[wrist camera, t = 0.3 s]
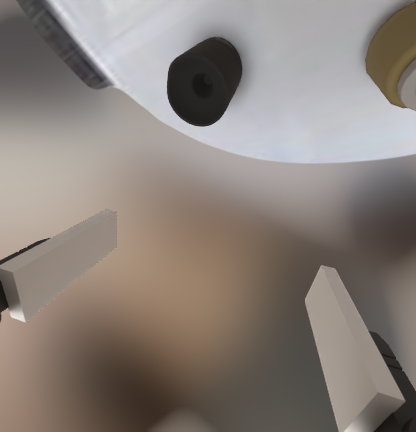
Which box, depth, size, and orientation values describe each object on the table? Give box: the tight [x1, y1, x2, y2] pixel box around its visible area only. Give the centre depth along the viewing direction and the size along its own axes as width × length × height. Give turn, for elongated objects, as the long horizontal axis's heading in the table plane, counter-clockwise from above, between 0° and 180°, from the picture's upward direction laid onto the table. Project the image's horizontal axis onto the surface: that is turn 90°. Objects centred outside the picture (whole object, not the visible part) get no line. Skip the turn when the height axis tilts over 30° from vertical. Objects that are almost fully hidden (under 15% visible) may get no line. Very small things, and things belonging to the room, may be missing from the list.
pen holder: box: [167, 38, 242, 126], centre depth 33 cm, size 9×9×10 cm
